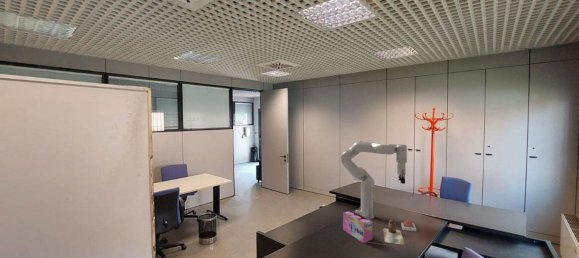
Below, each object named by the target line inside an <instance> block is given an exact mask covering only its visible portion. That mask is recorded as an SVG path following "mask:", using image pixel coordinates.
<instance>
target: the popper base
mask: <svg viewBox="0 0 579 258" xmlns="http://www.w3.org/2000/svg"><path fill="white" fill-rule="evenodd" d="M400 226H401V229H402V230H403V231H407V232H409V231H410V232H417V227H416V225H415V223H412V227H405V222H402V221H401V222H400Z"/></svg>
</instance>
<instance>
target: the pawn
mask: <svg viewBox="0 0 579 258" xmlns="http://www.w3.org/2000/svg"><path fill="white" fill-rule="evenodd" d="M388 229H389V232H390V233H396V230H397V222H396V220H395V219H393V218H392V219H390V220H389V222H388Z"/></svg>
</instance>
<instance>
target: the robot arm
mask: <svg viewBox="0 0 579 258" xmlns="http://www.w3.org/2000/svg"><path fill="white" fill-rule="evenodd" d="M407 152H408V150H407V145H406V144H394V143H389V144H382V143H381V144H379V143H376V142H371V141H369V142H368V141H363V140H358V141H356V142H354V144H353V145H352V146H351V147H349V148H348V149H346V150H344V151H343V152H342V153H341V155H340V162H341V164H342V165H343V167H344V168H345V169H346V170H347V171H348V173H349V174H350V175H351V176H352V177H353V179H354V180H356V181H360V187H359V188H360V209H359V210H357V209H355V211H354V212H355V213H357V214H359V215H361V216H363V217H365V218H367V219H369V220H372V219H374V218H375V215H374V214H373V211H374V210H373V204H374V203H373V200H374V197H373V195H374V193H373V188H374V186H375V180H374V178H373V177H372V176H371V175H370V173H368V171H367V170H366V169H365V168H364V167H362V166H361V167H360V166H359V167H358V166H357V164H356V163H355V162H354V161H352V159H354V158H355V157H356V156H358V155H359V154H360V153H372V154H380V155H387V156H388V155H391V156H392V155H394V154H395V155H396V157H395V158H396V159H395V160H396V163H397V167H396V173H397V174H398V182H399V181H400V185H404V184H406V171H407V169H406V163H408V156H407V155H408V153H407Z"/></svg>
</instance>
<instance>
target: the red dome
mask: <svg viewBox="0 0 579 258" xmlns="http://www.w3.org/2000/svg"><path fill="white" fill-rule="evenodd" d="M404 223H405V226H404V227H412V224H413V221H411V220H410V219H406V220H404ZM412 228H413V227H412Z"/></svg>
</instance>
